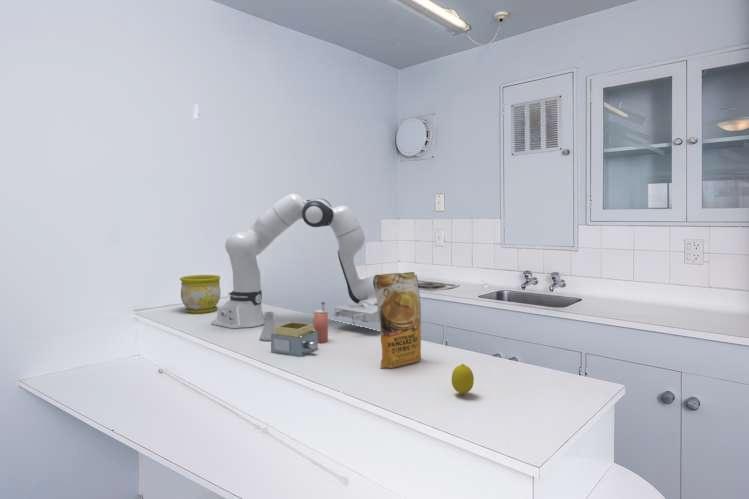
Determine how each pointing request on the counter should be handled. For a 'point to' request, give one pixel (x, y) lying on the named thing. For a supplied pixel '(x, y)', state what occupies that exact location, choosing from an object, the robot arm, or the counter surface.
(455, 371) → the lemon
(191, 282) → the flowerpot
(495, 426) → the counter surface
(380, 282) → the pancake mix bag
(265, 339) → the flask
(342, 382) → the counter surface
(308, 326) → the box
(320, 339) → the spout can
